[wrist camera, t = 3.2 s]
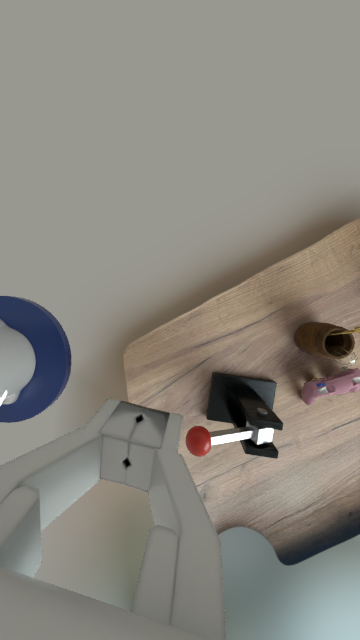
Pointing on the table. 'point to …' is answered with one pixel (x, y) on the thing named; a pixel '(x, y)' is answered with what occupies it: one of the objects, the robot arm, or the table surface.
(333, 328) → the utensil holder
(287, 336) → the table surface
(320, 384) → the pink toy car
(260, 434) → the lever
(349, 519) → the table surface
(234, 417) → the bracket
